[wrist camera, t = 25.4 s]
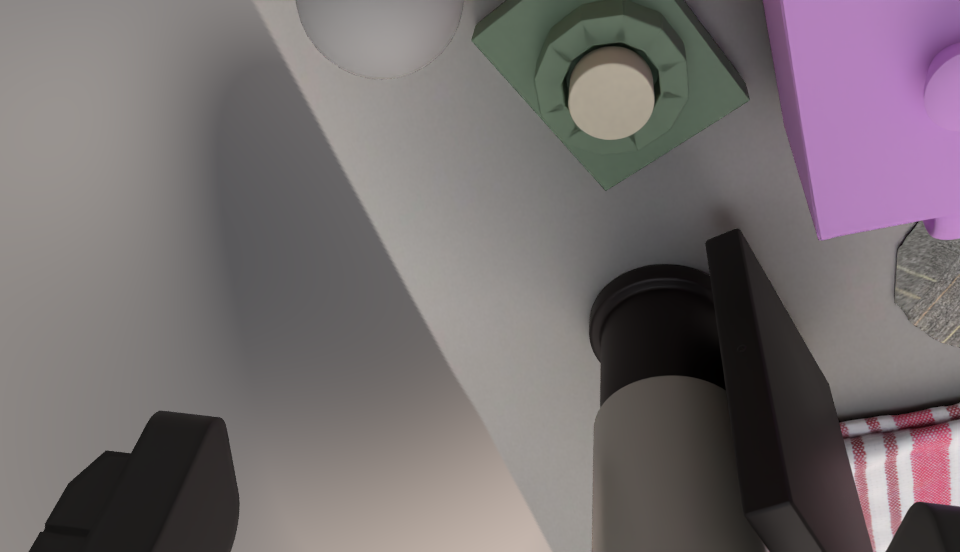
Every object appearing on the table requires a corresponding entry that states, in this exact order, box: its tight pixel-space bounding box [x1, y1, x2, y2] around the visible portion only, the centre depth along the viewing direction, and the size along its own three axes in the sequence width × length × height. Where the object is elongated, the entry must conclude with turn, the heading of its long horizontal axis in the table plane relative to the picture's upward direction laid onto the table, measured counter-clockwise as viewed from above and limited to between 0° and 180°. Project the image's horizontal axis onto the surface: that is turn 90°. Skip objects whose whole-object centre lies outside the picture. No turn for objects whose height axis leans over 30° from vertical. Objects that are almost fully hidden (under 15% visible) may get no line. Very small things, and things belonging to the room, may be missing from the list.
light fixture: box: [589, 228, 873, 552], centre depth 42 cm, size 12×11×25 cm
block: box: [472, 0, 750, 191], centre depth 41 cm, size 10×8×4 cm
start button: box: [568, 46, 655, 140], centre depth 39 cm, size 4×4×2 cm
